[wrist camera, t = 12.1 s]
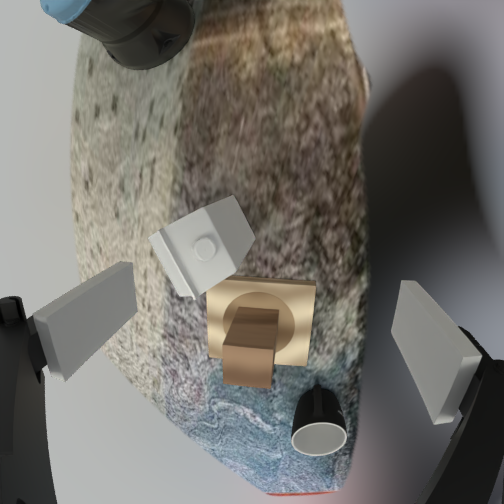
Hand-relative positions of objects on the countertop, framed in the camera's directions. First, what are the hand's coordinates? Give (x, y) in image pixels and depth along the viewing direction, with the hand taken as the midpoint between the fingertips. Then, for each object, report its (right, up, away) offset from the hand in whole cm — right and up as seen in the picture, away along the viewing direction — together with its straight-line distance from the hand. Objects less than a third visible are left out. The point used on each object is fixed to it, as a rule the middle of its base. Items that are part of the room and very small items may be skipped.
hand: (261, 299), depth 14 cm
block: (+1, -9, +32) cm, 33 cm away
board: (+1, -8, +34) cm, 35 cm away
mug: (+11, -23, +37) cm, 45 cm away
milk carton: (-4, +6, +31) cm, 32 cm away
